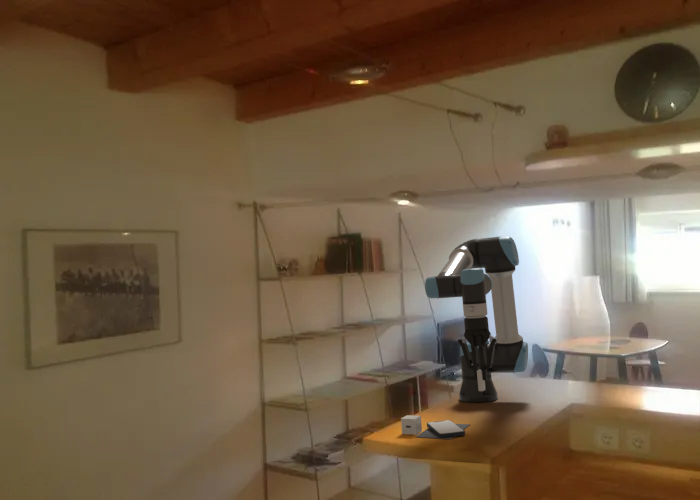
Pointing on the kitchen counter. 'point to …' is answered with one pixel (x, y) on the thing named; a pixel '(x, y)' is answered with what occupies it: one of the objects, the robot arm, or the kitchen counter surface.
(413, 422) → the charger block
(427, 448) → the kitchen counter surface
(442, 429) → the phone case
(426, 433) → the charging mat
